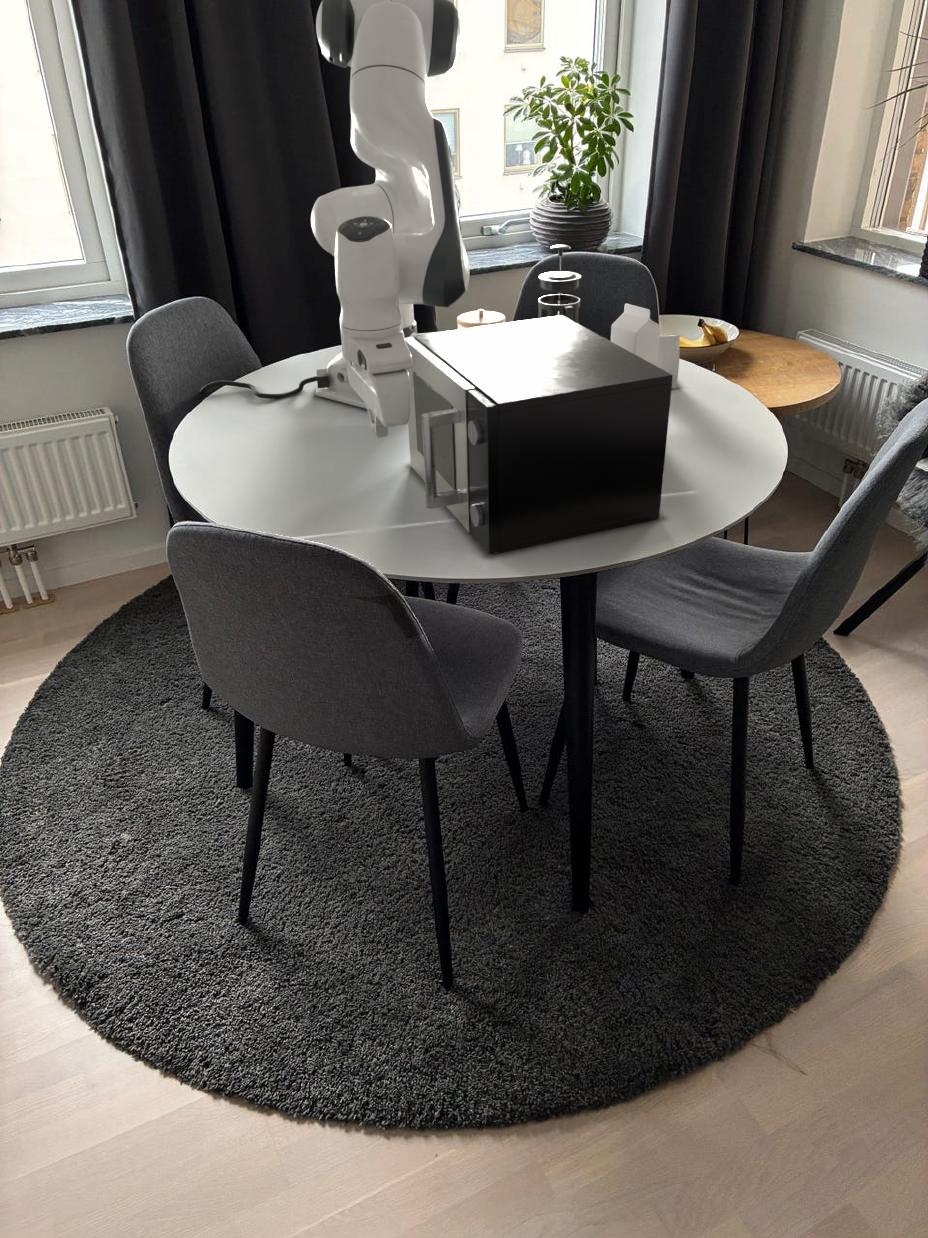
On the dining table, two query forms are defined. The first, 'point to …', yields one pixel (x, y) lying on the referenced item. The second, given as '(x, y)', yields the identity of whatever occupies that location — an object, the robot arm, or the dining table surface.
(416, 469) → the microwave door
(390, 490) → the dining table surface
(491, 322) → the trinket box
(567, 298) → the french press
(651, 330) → the milk
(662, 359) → the white small box
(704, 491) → the dining table surface
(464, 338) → the microwave
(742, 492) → the dining table surface
